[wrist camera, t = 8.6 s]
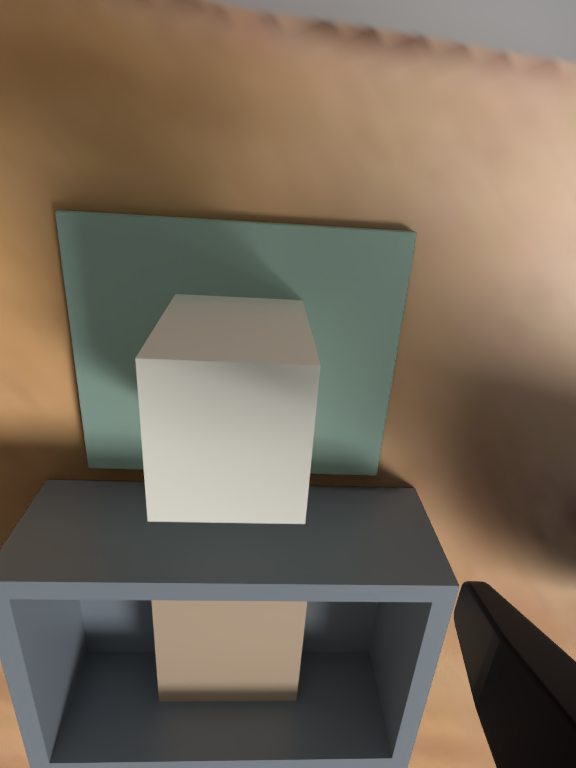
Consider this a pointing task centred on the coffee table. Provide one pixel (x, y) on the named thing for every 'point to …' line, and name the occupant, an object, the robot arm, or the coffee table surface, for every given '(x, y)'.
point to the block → (228, 410)
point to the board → (235, 279)
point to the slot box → (221, 631)
